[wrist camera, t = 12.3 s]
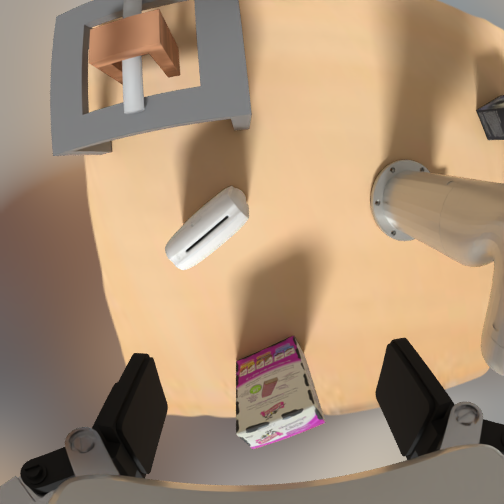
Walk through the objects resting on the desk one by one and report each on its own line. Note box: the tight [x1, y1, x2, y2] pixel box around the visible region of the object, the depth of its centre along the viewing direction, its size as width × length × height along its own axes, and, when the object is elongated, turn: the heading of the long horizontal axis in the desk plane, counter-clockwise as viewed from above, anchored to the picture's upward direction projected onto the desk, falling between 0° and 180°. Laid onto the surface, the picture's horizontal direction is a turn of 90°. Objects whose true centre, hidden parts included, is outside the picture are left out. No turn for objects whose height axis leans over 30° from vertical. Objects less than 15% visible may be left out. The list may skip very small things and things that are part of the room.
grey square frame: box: [50, 0, 252, 156], centre depth 28 cm, size 22×19×14 cm
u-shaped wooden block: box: [89, 9, 180, 84], centre depth 24 cm, size 7×4×11 cm, turn 96°
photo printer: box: [165, 186, 249, 270], centre depth 35 cm, size 10×4×12 cm, turn 129°
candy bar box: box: [236, 336, 325, 449], centre depth 41 cm, size 11×5×16 cm, turn 118°
